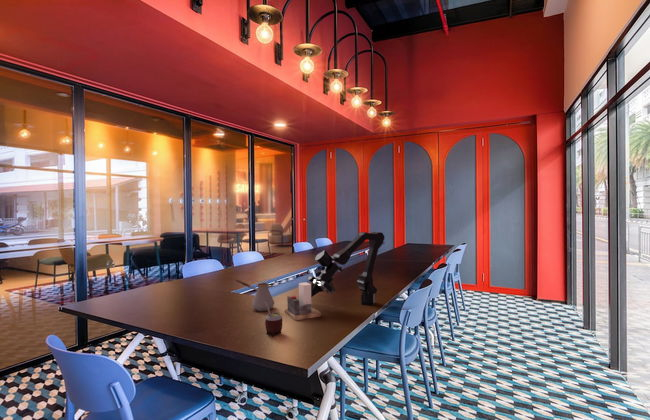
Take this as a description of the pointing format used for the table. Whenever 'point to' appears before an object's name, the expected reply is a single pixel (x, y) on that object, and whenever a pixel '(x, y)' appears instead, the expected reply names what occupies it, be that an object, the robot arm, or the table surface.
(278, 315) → the mate gourd
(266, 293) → the coffee pot
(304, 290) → the white tall block
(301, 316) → the stepped stone block model
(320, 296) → the table surface
